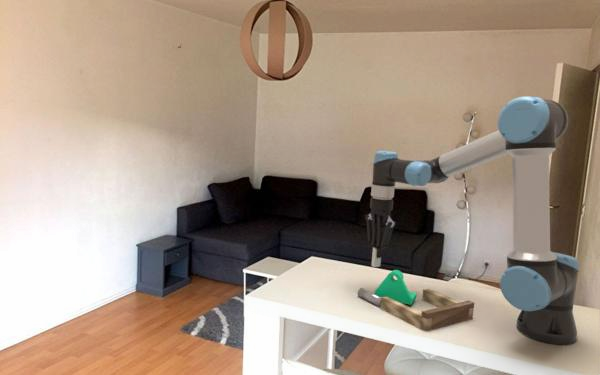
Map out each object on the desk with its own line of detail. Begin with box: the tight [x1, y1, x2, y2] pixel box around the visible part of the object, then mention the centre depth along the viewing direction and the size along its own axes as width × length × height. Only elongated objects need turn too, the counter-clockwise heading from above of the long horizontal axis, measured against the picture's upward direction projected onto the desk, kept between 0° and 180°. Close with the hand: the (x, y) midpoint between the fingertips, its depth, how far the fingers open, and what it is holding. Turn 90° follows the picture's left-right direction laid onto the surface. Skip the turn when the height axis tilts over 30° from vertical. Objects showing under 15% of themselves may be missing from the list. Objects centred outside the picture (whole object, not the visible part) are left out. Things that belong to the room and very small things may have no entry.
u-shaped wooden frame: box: [380, 288, 475, 332], centre depth 144 cm, size 18×20×5 cm
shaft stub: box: [357, 287, 382, 308], centre depth 152 cm, size 10×3×3 cm
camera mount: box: [373, 269, 417, 306], centre depth 154 cm, size 12×8×10 cm, turn 62°
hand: (375, 266), depth 162 cm, fingers closed
